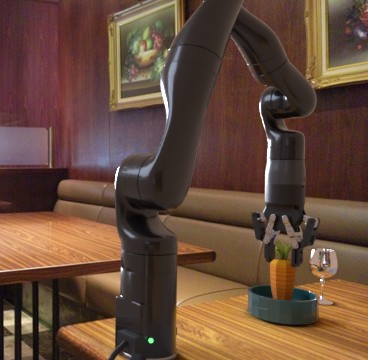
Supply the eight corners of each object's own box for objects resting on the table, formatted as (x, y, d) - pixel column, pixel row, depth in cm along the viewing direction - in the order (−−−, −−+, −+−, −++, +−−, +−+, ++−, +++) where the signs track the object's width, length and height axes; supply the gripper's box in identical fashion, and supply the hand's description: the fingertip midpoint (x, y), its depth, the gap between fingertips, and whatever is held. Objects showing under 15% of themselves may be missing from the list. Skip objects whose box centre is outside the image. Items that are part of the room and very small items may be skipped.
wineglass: (302, 300, 115) (303, 248, 115) (318, 297, 117) (320, 247, 117) (325, 306, 110) (326, 253, 109) (342, 303, 112) (343, 251, 112)
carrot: (298, 317, 100) (299, 243, 99) (271, 316, 101) (273, 242, 100) (291, 310, 105) (292, 240, 104) (266, 309, 106) (267, 239, 105)
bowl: (295, 331, 94) (296, 305, 93) (234, 313, 104) (235, 290, 104) (330, 319, 101) (331, 295, 101) (270, 303, 112) (271, 282, 112)
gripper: (242, 181, 105) (241, 260, 106) (310, 183, 94) (307, 272, 94) (263, 180, 110) (261, 256, 110) (330, 183, 98) (327, 268, 98)
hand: (283, 263), depth 102 cm, fingers closed on carrot, 5 cm apart
